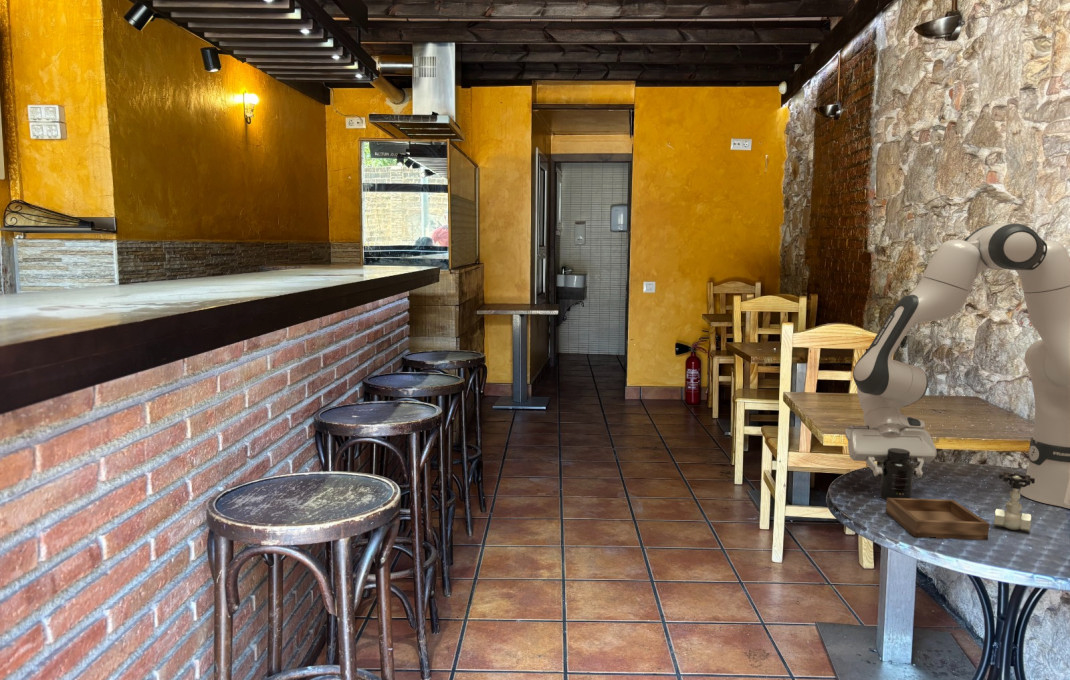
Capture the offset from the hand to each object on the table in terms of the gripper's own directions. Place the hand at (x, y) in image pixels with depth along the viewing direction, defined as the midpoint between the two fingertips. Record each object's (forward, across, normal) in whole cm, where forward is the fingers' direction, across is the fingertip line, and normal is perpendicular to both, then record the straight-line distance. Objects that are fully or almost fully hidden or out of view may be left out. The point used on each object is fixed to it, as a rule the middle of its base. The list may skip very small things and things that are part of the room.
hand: (898, 475), depth 184 cm
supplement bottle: (+4, 0, +5) cm, 6 cm away
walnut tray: (+16, +1, -8) cm, 18 cm away
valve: (+17, +17, -8) cm, 26 cm away
